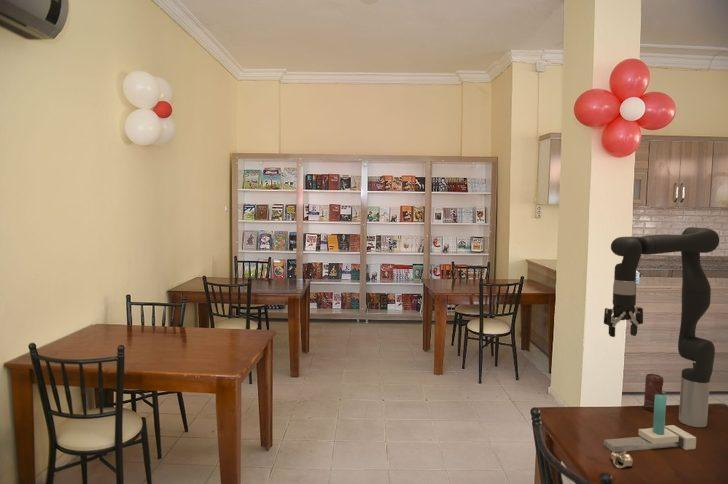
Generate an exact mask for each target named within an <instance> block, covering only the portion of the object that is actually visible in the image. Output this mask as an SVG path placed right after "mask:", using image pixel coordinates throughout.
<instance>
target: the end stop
mask: <svg viewBox="0 0 728 484" xmlns="http://www.w3.org/2000/svg"><path fill="white" fill-rule="evenodd" d="M665 428H666V429H667V430H669V431H671V432H673V433H674V434H676V435H678V436H679V440H678V441H679V443H678V447H680V448H682V449H683V450H685V451H689V450H697V449H696V448H697V447H696V446H697V437H696V436H695V435H692V434H691V433H689V432H687V431H685V430H683V429H682V428H680V427H678V426H676V425H674V424H671V425H670V424H669V425H665Z"/></svg>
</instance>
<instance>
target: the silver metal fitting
mask: <svg viewBox="0 0 728 484" xmlns="http://www.w3.org/2000/svg"><path fill="white" fill-rule="evenodd" d="M610 458H611V459H612V463H613V465H614V466H615V467H616V468H617V469H623V468H626V467H632V466H633V462H634V458H633V457H632V456H631V454H629V453H628V451H622V452H612V451H611V452H610ZM620 463H621V464H620Z"/></svg>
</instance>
